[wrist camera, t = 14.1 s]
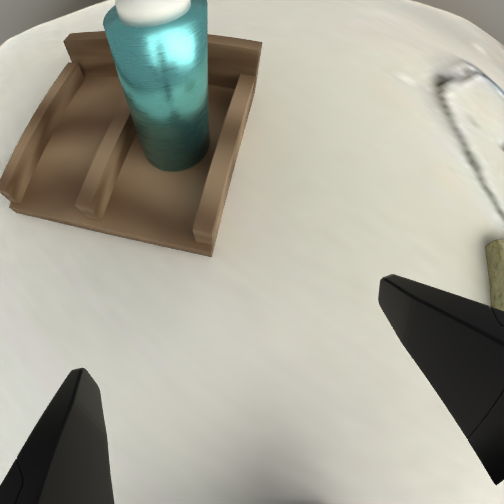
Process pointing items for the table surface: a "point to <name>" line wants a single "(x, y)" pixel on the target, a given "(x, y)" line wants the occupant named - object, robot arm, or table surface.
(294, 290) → the table surface
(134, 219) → the rack
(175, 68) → the spray can
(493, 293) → the decorative tile
